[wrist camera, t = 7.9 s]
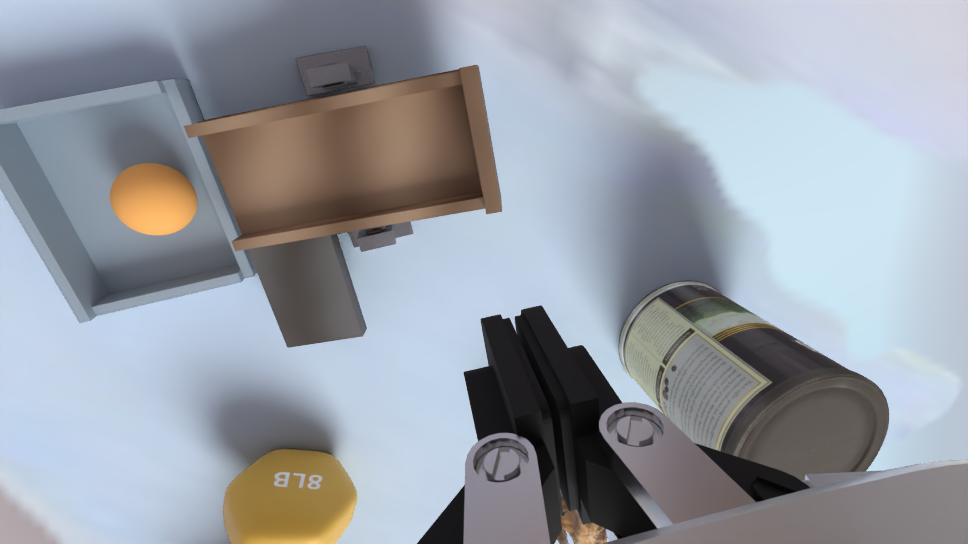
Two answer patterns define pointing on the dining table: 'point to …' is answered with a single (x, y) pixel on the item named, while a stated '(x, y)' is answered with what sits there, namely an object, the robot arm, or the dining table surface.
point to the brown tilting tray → (347, 184)
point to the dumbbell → (290, 500)
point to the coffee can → (750, 384)
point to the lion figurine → (579, 528)
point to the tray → (86, 196)
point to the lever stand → (340, 74)
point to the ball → (153, 199)
